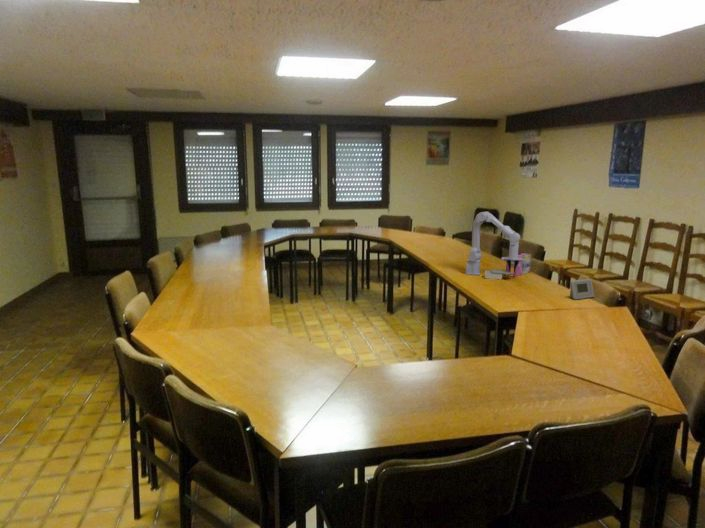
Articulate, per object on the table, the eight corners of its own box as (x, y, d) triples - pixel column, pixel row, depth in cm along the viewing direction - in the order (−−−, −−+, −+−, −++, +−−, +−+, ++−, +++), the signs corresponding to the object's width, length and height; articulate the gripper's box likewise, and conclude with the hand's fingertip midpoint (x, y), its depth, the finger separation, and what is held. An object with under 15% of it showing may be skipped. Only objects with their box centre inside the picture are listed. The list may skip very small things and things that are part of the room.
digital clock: (573, 300, 272) (575, 282, 270) (563, 296, 281) (565, 278, 279) (598, 299, 276) (600, 281, 274) (587, 295, 285) (589, 277, 282)
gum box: (520, 270, 351) (522, 251, 348) (531, 272, 345) (533, 253, 342) (505, 275, 334) (506, 256, 331) (515, 277, 329) (517, 257, 326)
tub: (484, 278, 322) (485, 272, 321) (484, 276, 330) (485, 270, 329) (501, 280, 319) (502, 274, 318) (501, 277, 327) (502, 271, 326)
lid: (492, 273, 320) (492, 267, 319) (492, 270, 328) (492, 264, 327) (513, 274, 316) (514, 268, 315) (513, 271, 324) (513, 266, 323)
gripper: (502, 251, 315) (500, 271, 318) (525, 253, 312) (523, 273, 314) (502, 250, 322) (500, 269, 325) (524, 251, 318) (523, 271, 321)
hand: (511, 271), depth 320 cm, fingers closed on lid, 2 cm apart
